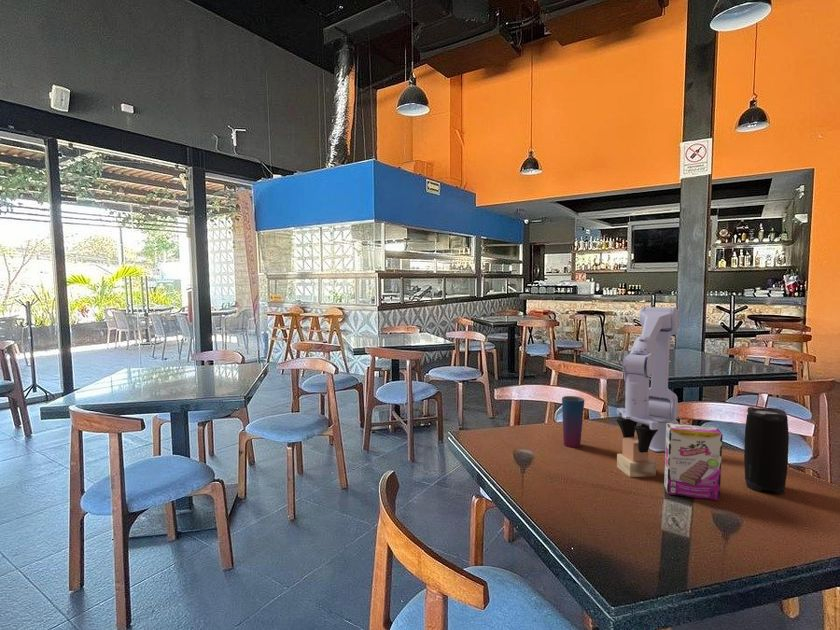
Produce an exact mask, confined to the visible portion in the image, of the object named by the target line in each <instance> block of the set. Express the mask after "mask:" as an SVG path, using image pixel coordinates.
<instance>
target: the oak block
mask: <svg viewBox="0 0 840 630" xmlns="http://www.w3.org/2000/svg"><path fill="white" fill-rule="evenodd" d="M656 463H657V462H656V461H655V460H653V459H652V458H650V457H648V460H645V461H636V462H633V461H631V460H629V459H627V458H626V457H624V456H622V453H617V454H616V467H617V468H618V469H619V470H620V471H622V473H624V474H625V475H626V476H628V477H629V478H638V477H639V478H640V477H641V478H642V477H644V478H645V477H646V476H647V477H656V475H657V474H656V473H657V467H656V466H657V464H656Z"/></svg>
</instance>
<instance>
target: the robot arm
mask: <svg viewBox="0 0 840 630" xmlns="http://www.w3.org/2000/svg"><path fill="white" fill-rule="evenodd" d="M638 317H639V323H640V325H641V327H642V330H641V331H642V332H641V334H640V336H638V337H636V338H635V339H634V341H633V343H632V347H631V350H630V352H629V353H628V354H627V355H624V357H623V360H622V373H623V381H624V382H625V392H624V393H625V398H624V400H625V402H624V403H625V404H624V406H625V407H617V408H616V415H617V416H619V417H618V418H616V422H617V424H618V426H619V428H620V432H621V433H622V438H627V437H635V433H636V437H638V446H639V452H641V453H644V452H648V453H649V450H651V451H653V452H655V453H659V452H665V445H666V423H671V424H680V423H679V421H678V420H677V418H678V414H679V403H678V399H679V398H678V396H677V394H676V393H675V392H674V391H672V390H671V389H669V373H670V372H669V371H670V370H669V368H670V346H671V345H670V344H671V340H672V336H674V335H677V334H678V331H679V321H680V319H679V318H680V315H679V310H678V308H677V307H675V306H673V307H664V306H663V307H659V306H657V307H652V306H651V307H649V306H643V307H642V308H641V309H640V310H639V316H638ZM650 377H651V379H650ZM650 381H651V382H650ZM620 416H621V417H620ZM638 424H640V425H638Z"/></svg>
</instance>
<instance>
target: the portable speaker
mask: <svg viewBox="0 0 840 630" xmlns="http://www.w3.org/2000/svg"><path fill="white" fill-rule="evenodd" d="M746 412H747V414H746V420H745V427H744V446H743V447H744V451H743V453H744V454H743V461H744V463H743V466H744V468H743V469H744V480H745V484H746V487H747V488H749V489H750V490H752V491H756V492H761V491H771V492H774V493H775V494H776V495H782V494H783V495H784V494H785V492H786V491H785V490H786V482H787V476H788V475H787V474H788V469H789V468H788V466H789V445H790V444H789V442H790V439H789V438H790V437H789V436H790V435H789V421H788V414H787V413H786V412H785V410H783V409H780V408H774V407H766V408H765V407H761V408H760V407H759V408H758V407H754V406H749V407H747V409H746Z"/></svg>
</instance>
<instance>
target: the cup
mask: <svg viewBox="0 0 840 630" xmlns="http://www.w3.org/2000/svg"><path fill="white" fill-rule="evenodd" d="M584 407H585V398H584V397H581V396H576V395H575V396H574V395H565V396H562V397H561V408H562V409H561V411H562V433H563V434H562V435H563V445H564V446H565V447H568V448H580V446H581V441H582V432H583V431H582V428H583V418H584V409H585V408H584Z"/></svg>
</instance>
